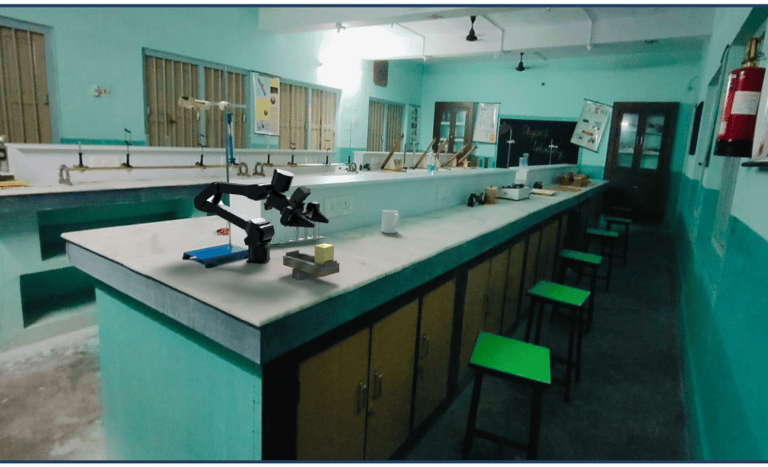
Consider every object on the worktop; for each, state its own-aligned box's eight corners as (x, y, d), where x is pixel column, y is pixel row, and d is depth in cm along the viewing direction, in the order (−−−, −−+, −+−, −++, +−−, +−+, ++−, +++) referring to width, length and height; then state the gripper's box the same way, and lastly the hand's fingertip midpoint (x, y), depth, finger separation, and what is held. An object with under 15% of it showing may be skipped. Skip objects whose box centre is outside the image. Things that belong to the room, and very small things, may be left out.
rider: (314, 267, 137) (314, 245, 135) (324, 264, 140) (324, 243, 138) (323, 270, 134) (324, 247, 133) (333, 267, 137) (333, 245, 136)
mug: (378, 230, 221) (379, 209, 219) (392, 229, 225) (393, 209, 222) (390, 235, 210) (391, 213, 208) (404, 234, 214) (405, 213, 212)
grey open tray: (281, 274, 143) (281, 253, 142) (302, 268, 150) (302, 248, 149) (319, 287, 133) (320, 264, 131) (340, 280, 140) (341, 259, 138)
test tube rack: (319, 237, 201) (319, 208, 198) (324, 238, 198) (324, 209, 195) (267, 243, 185) (267, 211, 182) (272, 245, 182) (272, 213, 179)
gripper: (273, 183, 138) (314, 205, 134) (305, 180, 156) (342, 199, 151) (264, 215, 142) (303, 237, 138) (296, 208, 159) (332, 227, 155)
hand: (321, 224), depth 145 cm, fingers open, 9 cm apart
